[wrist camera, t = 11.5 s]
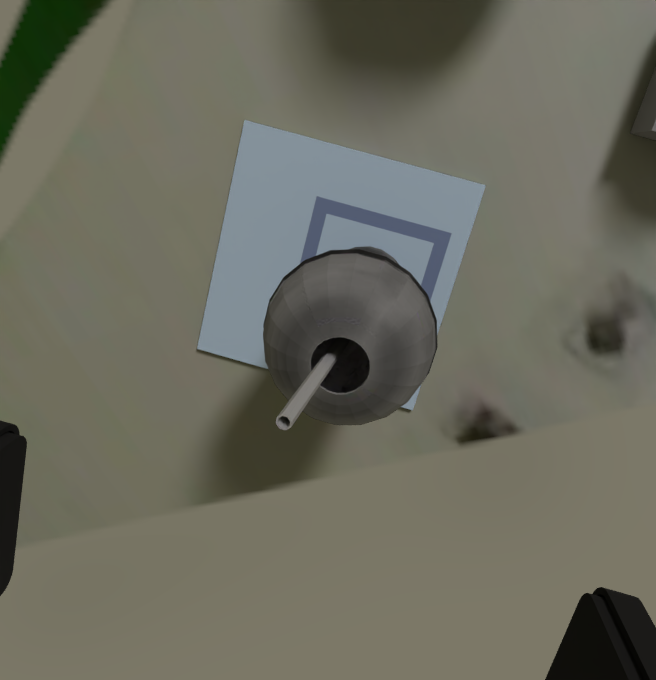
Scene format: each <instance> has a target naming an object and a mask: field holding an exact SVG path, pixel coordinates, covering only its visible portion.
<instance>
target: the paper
mask: <svg viewBox="0 0 656 680" xmlns="http://www.w3.org/2000/svg"><path fill="white" fill-rule="evenodd" d="M485 186H486V185H483V184H479V183H475V182H472V181H468V180H464V179H461V178H457V177H453V176H449V175H446V174H442V173H438V172H435V171H431V170H427V169H424V168H420V167H416V166H413V165H409V164H405V163H402V162H398V161H394V160H390V159H387V158H383V157H379V156H376V155H372V154H368V153H365V152H361V151H357V150H354V149H350V148H346V147H343V146H339V145H335V144H331V143H328V142H324V141H320V140H317V139H313V138H309V137H306V136H302V135H298V134H295V133H291V132H287V131H284V130H280V129H276V128H272V127H269V126H265V125H261V124H258V123H254V122H250V121H247V120H244V125H243V130H242V135H241V139H240V144H239V149H238V154H237V159H236V163H235V168H234V173H233V178H232V183H231V188H230V192H229V197H228V202H227V207H226V212H225V216H224V221H223V226H222V231H221V236H220V241H219V245H218V250H217V255H216V260H215V265H214V269H213V274H212V279H211V284H210V289H209V294H208V298H207V303H206V308H205V313H204V318H203V322H202V327H201V332H200V337H199V342H198V347H197V349H199V350H203V351H206V352H210V353H213V354H217V355H220V356H224V357H227V358H231V359H234V360H238V361H241V362H245V363H248V364H252V365H255V366H259V367H262V368H266V369H268V367H267V364H266V362H265V353H264V342H263V330H264V328H263V324H264V320H265V316H266V312H267V308H268V303H269V300H270V298H271V296H272V295H273V293H274V292H275V290H276V288H277V287H278V285H279V284H280V282H281V280H282V279H283V277H284V276H286V275H287V274H288V273H289V272H290V271H292V270H293V269H294V268H295V267H297V266H298V265H299V264H300V263H302V262H303V261H304V260H306V259H309V258H311V257H314V256H316V255H319V254H322V253H324V252H327V251H330V250H345V249H351V248H354V247H366V246H371V247H374V248H378V249H381V250H383V251H385V252H386V253H388V254H389V255H391V256H392V257H393V258H394V259H395V260H396V261H397V262H398V264H399V265H400V266H402V267H403V268H405V269H406V270H408V271H409V272H411V274H412V275H413V276H414V278H415V279H416V280H417V281H418V283H419V284H420V285H421V287H422V288H423V289H424V290H425V292H426V293H427V294H428V297H429V299H430V302H431V305H432V308H433V311H434V314H435V316H436V319H437V334H438V331H439V328H440V325H441V322H442V319H443V316H444V313H445V310H446V306H447V303H448V300H449V297H450V294H451V291H452V288H453V285H454V282H455V279H456V276H457V273H458V270H459V266H460V263H461V260H462V257H463V254H464V251H465V248H466V245H467V242H468V239H469V236H470V233H471V230H472V226H473V223H474V220H475V217H476V214H477V211H478V208H479V205H480V202H481V199H482V196H483V193H484V189H485ZM420 387H421V385H420V386H419V388H418V389H417V390H416V392H415V393H414V394H413V396H412V397H411V398H410V400H409V401H408V402H407V403H406V404H404V405H403V406H401V407H403V408H406V409H410V410H413V408H414V405H415V402H416V399H417V396H418V393H419V390H420Z"/></svg>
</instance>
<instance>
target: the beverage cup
mask: <svg viewBox="0 0 656 680" xmlns="http://www.w3.org/2000/svg"><path fill="white" fill-rule="evenodd" d="M263 328H264V330H263V342H264V353H265V362H266V364H267V367H268V369H269V371H270V374H271V376H272V378H273V381H274V383H275V385H276V386H277V388H278V389H279V390H280V391H281V392H282V393H283V395H284V396H285V397H286V398H287V399H288V400H289V402H288V403H287V404H286V406H285V407H284V408H283V410H282V411H281V412H280V414H279V415H278V416H277V418H276V424H277V426H278V427H279V429H282V430H287V429H289V428H291V427H292V425H293V424H294V422H295V421H296V419H297V418H298V417H299V415H300V414H301V412H304V413H305V414H307V415H309V416H310V417H312V418H314V419H317V420H321V421H324V422H327V423H331V424H334V425H362V424H365V423H369V422H372V421H375V420H378V419H381V418H384V417H387V416H389V415H390V414H391V413H393V412H394V411H396V410H397V409H399V408H400V407H401V406H403V405H404V404H406V403H407V402H408V401H409V400H410V398H411V397H412V396H413V394H414V393H415V392H416V390H417V389H418V388H419V386H420V385H421V384H422V382H423V381H424V380H425V378H426V376H427V375H428V373H429V371H430V368H431V365H432V362H433V359H434V356H435V353H436V350H437V319H436V316H435V314H434V311H433V308H432V305H431V302H430V299H429V297H428V294H427V293H426V292H425V290H424V289H423V288H422V287H421V285H420V284H419V283H418V281H417V280H416V279H415V278H414V276H413V275H412V274H411V272H409V271H408V270H406V269H405V268H403V267H402V266H400V265H399V264H398V262H397V261H396V260H395V259H394V258H393V257H392V256H391V255H389V254H388V253H386V252H385V251H383V250H381V249H378V248H374V247H371V246H366V247H354V248H351V249H345V250H330V251H327V252H324V253H322V254H319V255H316V256H314V257H311V258H309V259H306V260H304V261H303V262H302V263H300V264H299V265H298V266H297V267H295V268H294V269H293V270H292V271H290V272H289V273H288V274H287V275H286V276H284V277H283V279H282V280H281V282H280V284H279V285H278V287H277V288H276V290H275V292H274V293H273V295H272V296H271V298H270V300H269V303H268V308H267V312H266V316H265V320H264V324H263Z"/></svg>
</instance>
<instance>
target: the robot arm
mask: <svg viewBox="0 0 656 680" xmlns="http://www.w3.org/2000/svg"><path fill="white" fill-rule="evenodd" d="M26 447H27V442H26V438H25V437H24V436H20V435H19V429H18V427H17V426H16V425H14V424H11V423H7V422H3V421H0V596H1V594H2V593H3V592H4V590H5V589H6V587H7V585H8V583H9V581H10V578H11V576H12V572H13V564H14V555H15V547H16V538H17V529H18V520H19V511H20V502H21V493H22V483H23V474H24V465H25V456H26ZM545 680H656V627H655V625H654V624H653V622H652V620H651V618H650V616H649V615H648V613H647V611H646V609H645V607H644V606H643V604H642V602H641V601H640V600H639V598H637V597H634V596H631V595H627V594H624V593H620V592H617V591H613V590H609V589H605V588H602V587H600V588H597V589H596V590H595V591H594V592H593V594H589V593H586V594H584V595H583V596H582V597H581V599H580V600H579V603H578V605H577V608H576V610H575V612H574V614H573V616H572V619H571V621H570V623H569V626H568V628H567V631H566V633H565V635H564V637H563V640H562V642H561V644H560V647H559V649H558V651H557V654H556V656H555V658H554V660H553V663H552V665H551V667H550V670H549V672H548V674H547V677H546V679H545Z"/></svg>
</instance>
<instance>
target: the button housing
mask: <svg viewBox="0 0 656 680" xmlns="http://www.w3.org/2000/svg"><path fill="white" fill-rule="evenodd" d="M630 134H634V135H638V136H641V137H645V138H649V139H653V140H656V67H655V70H654V72H653V75H652V77H651V80H650V83H649V85H648V88H647V90H646V93H645V96H644V98H643V101H642V104H641V106H640V109H639V111H638V114H637V117H636V119H635V122H634V124H633V127H632V130H631V132H630Z"/></svg>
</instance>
